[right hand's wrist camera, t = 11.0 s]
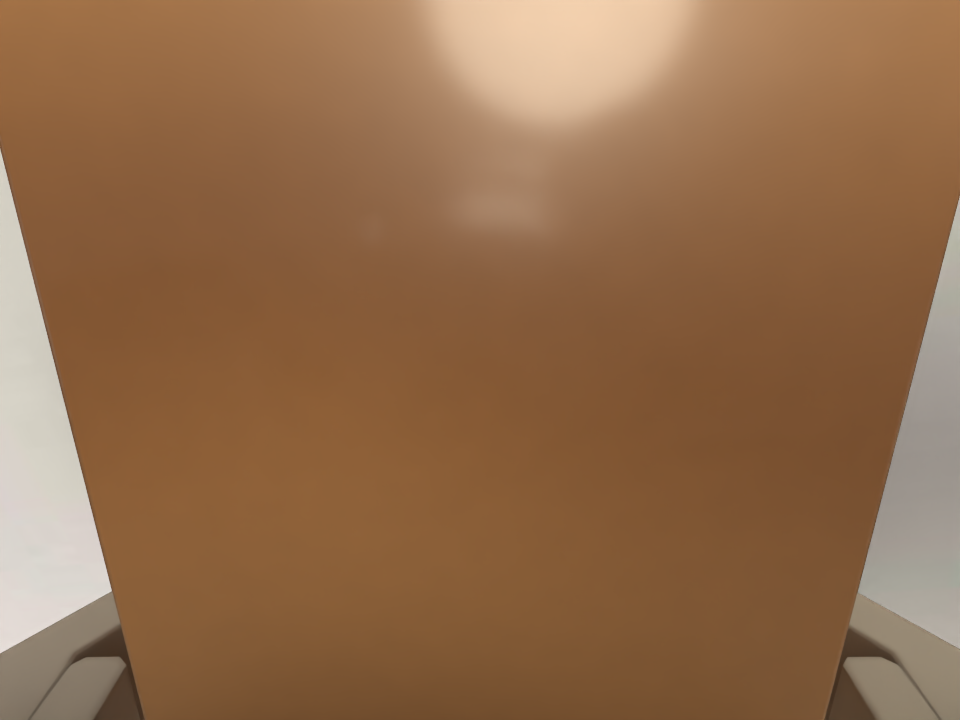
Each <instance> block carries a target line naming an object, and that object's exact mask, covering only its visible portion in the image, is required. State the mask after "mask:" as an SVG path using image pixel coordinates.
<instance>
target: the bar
mask: <svg viewBox="0 0 960 720" xmlns="http://www.w3.org/2000/svg"><path fill="white" fill-rule="evenodd" d="M0 149H1V153H2V157H3V161H4V165H5V169H6V173H7V177H8V181H9V185H10V189H11V193H12V196H13V200H14V204H15V208H16V212H17V216H18V220H19V224H20V228H21V232H22V236H23V240H24V244H25V248H26V252H27V256H28V260H29V264H30V268H31V272H32V276H33V280H34V284H35V288H36V292H37V295H38V299H39V303H40V307H41V311H42V315H43V319H44V323H45V327H46V331H47V335H48V339H49V343H50V347H51V351H52V355H53V359H54V363H55V367H56V371H57V375H58V379H59V383H60V387H61V390H62V394H63V398H64V402H65V406H66V410H67V414H68V418H69V422H70V426H71V430H72V434H73V438H74V442H75V446H76V450H77V454H78V458H79V462H80V466H81V470H82V474H83V478H84V482H85V485H86V489H87V493H88V497H89V501H90V505H91V509H92V513H93V517H94V521H95V525H96V529H97V533H98V537H99V541H100V545H101V549H102V553H103V557H104V561H105V565H106V569H107V573H108V577H109V580H110V584H111V588H112V592H113V596H114V600H115V604H116V608H117V612H118V616H119V620H120V624H121V628H122V632H123V636H124V640H125V644H126V648H127V652H128V656H129V660H130V664H131V668H132V672H133V675H134V679H135V683H136V687H137V691H138V695H139V699H140V703H141V707H142V711H143V715H144V719H145V720H825V716H826V712H827V708H828V704H829V700H830V697H831V693H832V689H833V685H834V681H835V677H836V673H837V669H838V666H839V662H840V658H841V654H842V650H843V646H844V642H845V638H846V634H847V631H848V627H849V623H850V619H851V615H852V611H853V607H854V603H855V600H856V596H857V592H858V588H859V584H860V580H861V576H862V572H863V569H864V565H865V561H866V557H867V553H868V549H869V545H870V541H871V538H872V534H873V530H874V526H875V522H876V518H877V514H878V510H879V507H880V503H881V499H882V495H883V491H884V487H885V483H886V479H887V476H888V472H889V468H890V464H891V460H892V456H893V452H894V448H895V445H896V441H897V437H898V433H899V429H900V425H901V421H902V417H903V414H904V410H905V406H906V402H907V398H908V394H909V390H910V386H911V383H912V379H913V375H914V371H915V367H916V363H917V359H918V355H919V352H920V348H921V344H922V340H923V336H924V332H925V328H926V324H927V321H928V317H929V313H930V309H931V305H932V301H933V297H934V293H935V289H936V286H937V282H938V278H939V274H940V270H941V266H942V262H943V258H944V255H945V251H946V247H947V243H948V239H949V235H950V231H951V227H952V224H953V220H954V216H955V212H956V208H957V204H958V200H959V196H960V0H0Z"/></svg>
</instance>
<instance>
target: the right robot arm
mask: <svg viewBox="0 0 960 720" xmlns="http://www.w3.org/2000/svg"><path fill="white" fill-rule="evenodd" d="M0 720H145V719H144V715H143V711H142V707H141V703H140V699H139V695H138V691H137V687H136V683H135V679H134V675H133V672H132V668H131V664H130V660H129V656H128V652H127V648H126V644H125V640H124V636H123V632H122V628H121V624H120V620H119V616H118V612H117V608H116V604H115V600H114V596H113V592H110V593H108V594H106V595H105V596H103V597H101V598H99V599H97V600H96V601H94V602H92V603H90V604H88V605H87V606H85V607H83V608H81V609H79V610H78V611H76V612H74V613H72V614H71V615H69V616H67V617H65V618H63V619H62V620H60V621H58V622H56V623H54V624H53V625H51V626H49V627H47V628H45V629H44V630H42V631H40V632H38V633H36V634H35V635H33V636H31V637H29V638H27V639H26V640H24V641H22V642H20V643H19V644H17V645H15V646H13V647H11V648H10V649H8V650H6V651H4V652H2V653H1V654H0ZM825 720H960V649H958V648H957V647H955V646H953V645H951V644H949V643H948V642H946V641H944V640H942V639H940V638H939V637H937V636H935V635H933V634H931V633H930V632H928V631H926V630H924V629H922V628H920V627H919V626H917V625H915V624H913V623H911V622H910V621H908V620H906V619H904V618H902V617H901V616H899V615H897V614H895V613H893V612H892V611H890V610H888V609H886V608H884V607H883V606H881V605H879V604H877V603H875V602H874V601H872V600H870V599H868V598H866V597H865V596H863V595H861V594H859V593H857V596H856V600H855V603H854V607H853V611H852V615H851V619H850V623H849V627H848V631H847V634H846V638H845V642H844V646H843V650H842V654H841V658H840V662H839V666H838V669H837V673H836V677H835V681H834V685H833V689H832V693H831V697H830V700H829V704H828V708H827V712H826V716H825Z"/></svg>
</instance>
